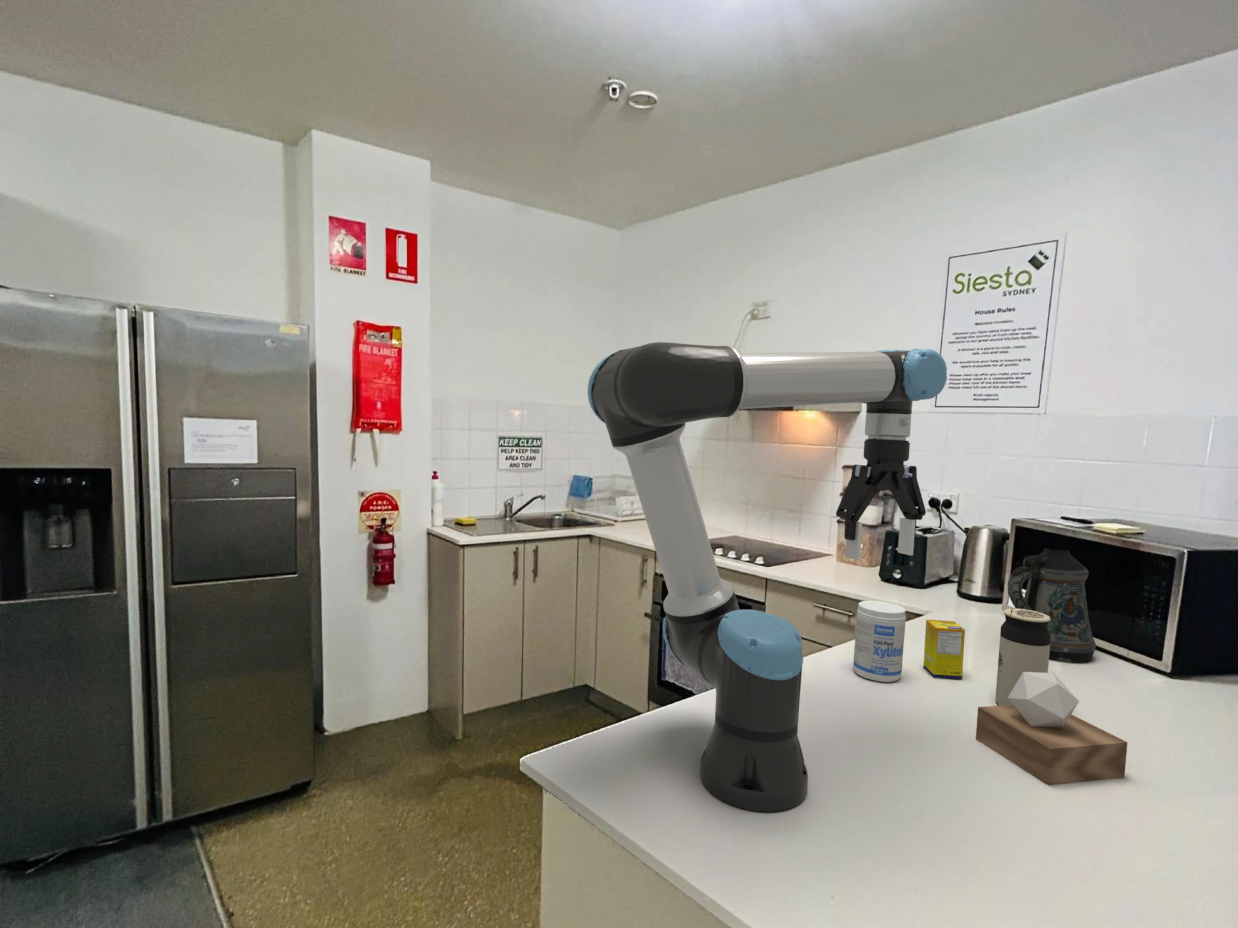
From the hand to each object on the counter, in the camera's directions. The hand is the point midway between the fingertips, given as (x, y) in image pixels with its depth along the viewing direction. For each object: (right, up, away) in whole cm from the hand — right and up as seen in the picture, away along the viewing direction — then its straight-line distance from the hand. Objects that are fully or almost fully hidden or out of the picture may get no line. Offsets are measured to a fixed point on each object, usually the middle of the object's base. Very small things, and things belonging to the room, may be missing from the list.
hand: (879, 556), depth 115 cm
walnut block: (+22, -31, -13) cm, 40 cm away
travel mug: (+29, -30, +6) cm, 42 cm away
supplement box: (+22, -29, +22) cm, 42 cm away
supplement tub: (+8, -28, +20) cm, 35 cm away
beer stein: (+57, -29, +38) cm, 74 cm away
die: (+21, -25, -13) cm, 35 cm away
